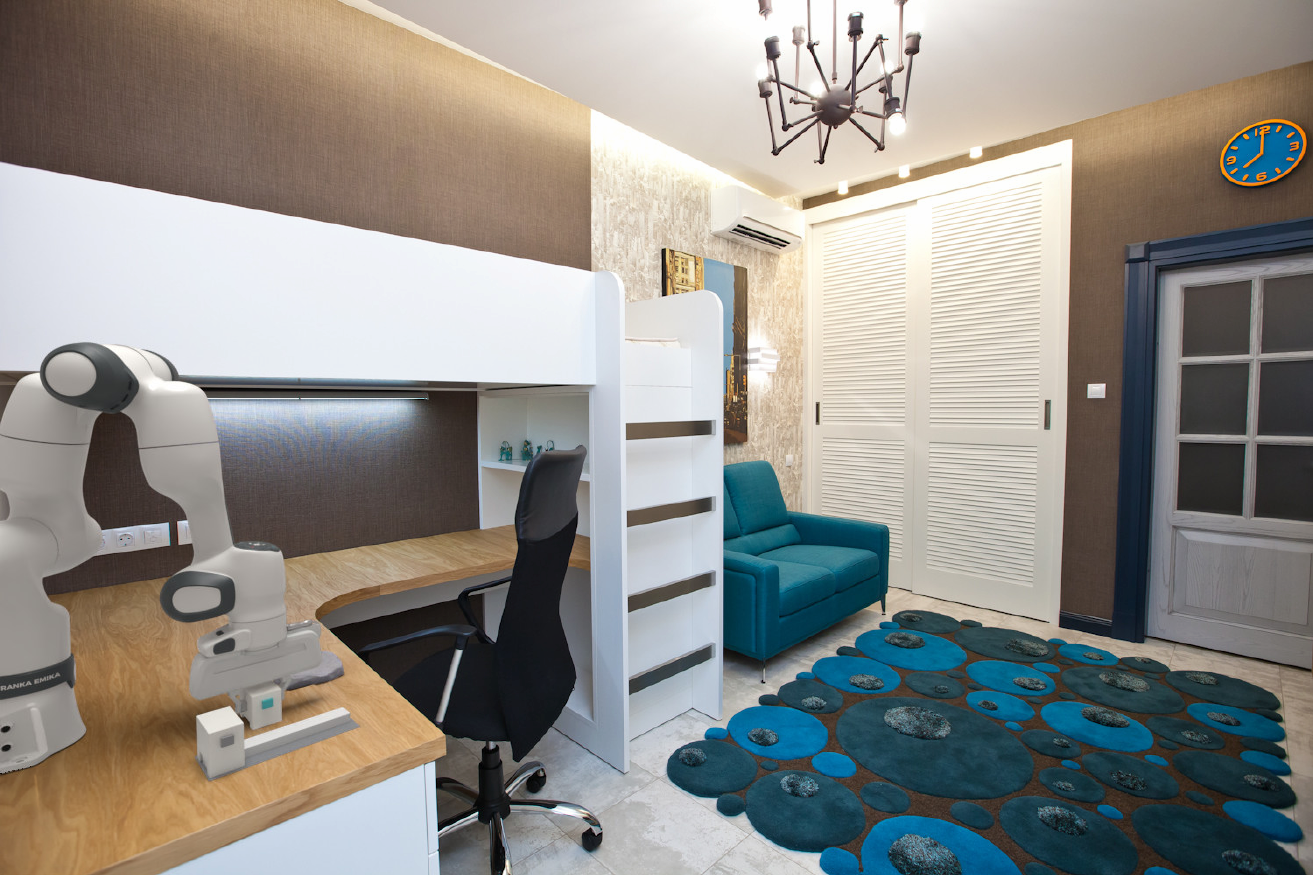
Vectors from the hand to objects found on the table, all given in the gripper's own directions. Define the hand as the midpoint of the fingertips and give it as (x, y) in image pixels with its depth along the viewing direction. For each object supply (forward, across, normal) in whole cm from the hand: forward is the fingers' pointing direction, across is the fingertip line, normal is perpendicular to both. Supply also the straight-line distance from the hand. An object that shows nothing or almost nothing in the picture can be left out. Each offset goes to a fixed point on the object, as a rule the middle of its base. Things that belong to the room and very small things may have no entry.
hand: (260, 705), depth 111 cm
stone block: (+4, -13, -14) cm, 20 cm away
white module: (+3, 0, 0) cm, 3 cm away
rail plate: (+3, 0, +12) cm, 12 cm away
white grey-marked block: (+2, +8, +12) cm, 15 cm away
